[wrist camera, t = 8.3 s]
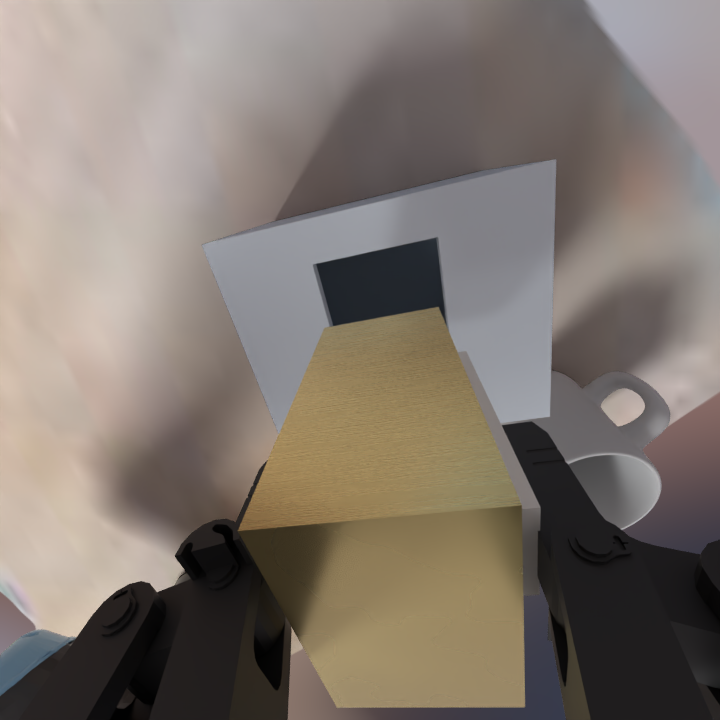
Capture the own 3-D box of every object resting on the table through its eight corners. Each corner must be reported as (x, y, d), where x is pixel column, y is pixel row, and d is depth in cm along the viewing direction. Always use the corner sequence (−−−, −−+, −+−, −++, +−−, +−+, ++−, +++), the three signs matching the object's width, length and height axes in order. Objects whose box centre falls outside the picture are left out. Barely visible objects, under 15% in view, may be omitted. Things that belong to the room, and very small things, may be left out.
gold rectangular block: (360, 455, 15) (336, 707, 8) (324, 327, 12) (238, 531, 5) (455, 444, 14) (525, 707, 7) (438, 306, 12) (522, 505, 4)
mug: (529, 454, 36) (584, 554, 26) (469, 412, 34) (503, 504, 24) (633, 375, 31) (746, 461, 21) (569, 321, 29) (661, 390, 20)
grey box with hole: (318, 364, 33) (285, 451, 22) (273, 221, 27) (201, 244, 16) (491, 334, 30) (549, 416, 20) (482, 170, 25) (556, 159, 14)
